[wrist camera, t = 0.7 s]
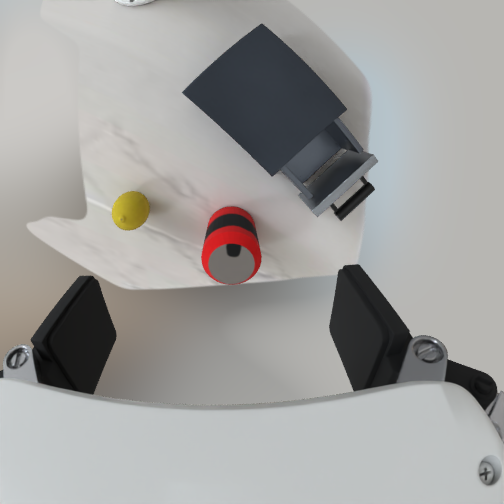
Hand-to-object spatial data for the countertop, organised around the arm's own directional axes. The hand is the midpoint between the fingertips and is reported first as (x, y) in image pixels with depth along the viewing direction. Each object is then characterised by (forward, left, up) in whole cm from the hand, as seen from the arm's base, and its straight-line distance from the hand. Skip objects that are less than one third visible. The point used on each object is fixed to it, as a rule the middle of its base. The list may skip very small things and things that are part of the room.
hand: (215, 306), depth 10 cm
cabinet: (-4, +10, -33) cm, 35 cm away
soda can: (+7, -7, -33) cm, 35 cm away
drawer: (+7, +10, -32) cm, 35 cm away
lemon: (-7, -14, -33) cm, 37 cm away
